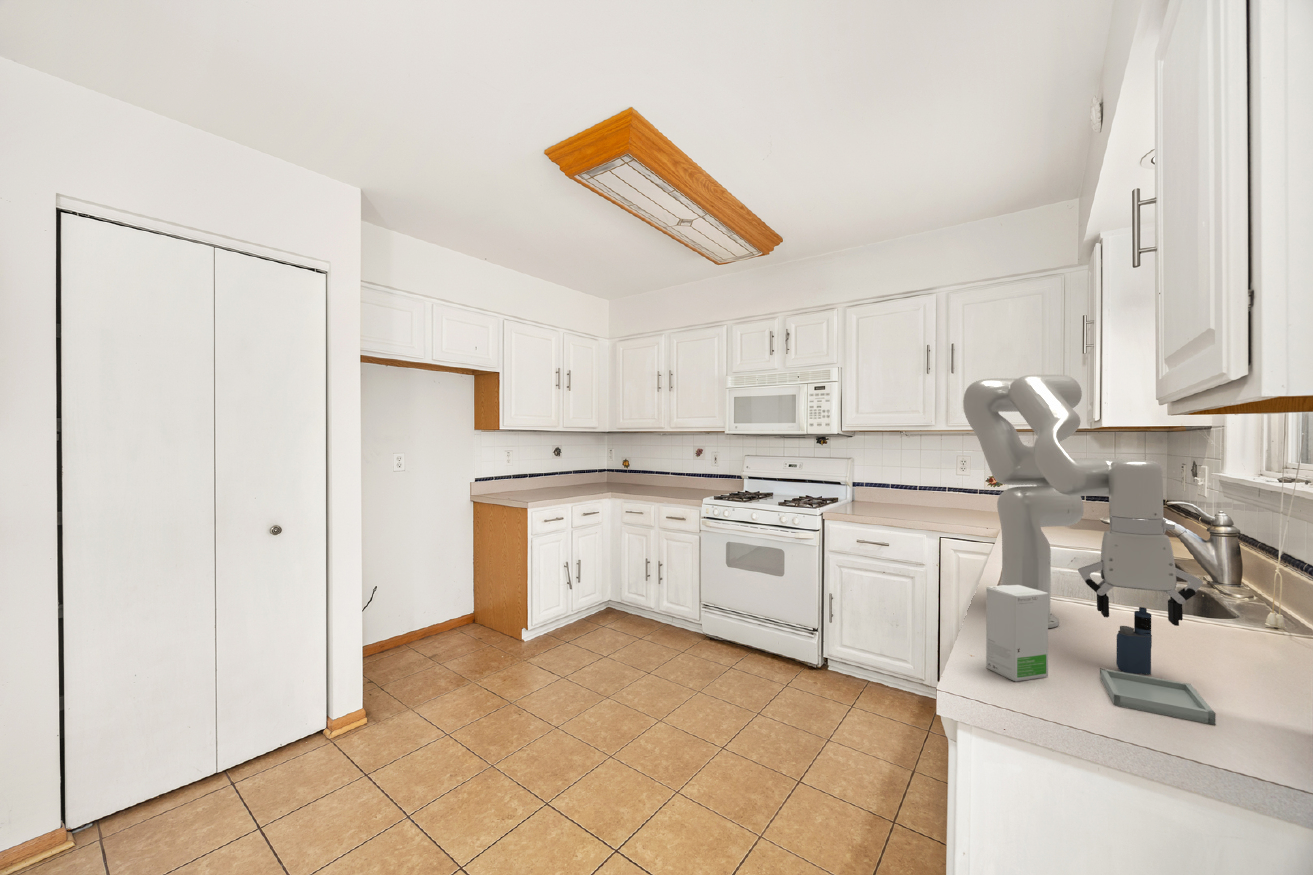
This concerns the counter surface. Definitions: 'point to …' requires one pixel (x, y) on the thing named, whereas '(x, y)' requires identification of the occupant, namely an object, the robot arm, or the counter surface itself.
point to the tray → (1156, 696)
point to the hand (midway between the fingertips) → (1138, 619)
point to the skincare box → (1017, 632)
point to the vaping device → (1135, 645)
